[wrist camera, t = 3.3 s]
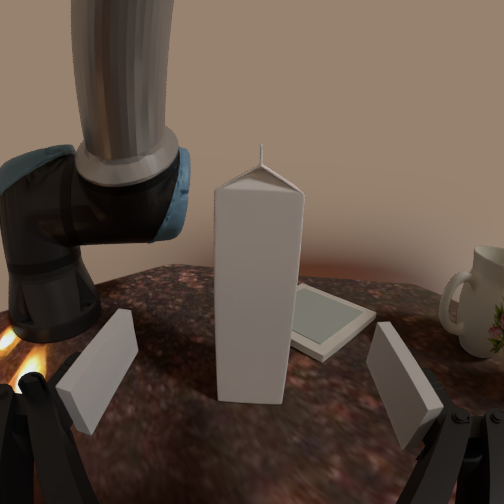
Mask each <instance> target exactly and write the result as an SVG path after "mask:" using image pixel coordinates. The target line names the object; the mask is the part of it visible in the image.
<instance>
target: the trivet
mask: <svg viewBox="0 0 504 504" xmlns="http://www.w3.org/2000/svg"><path fill="white" fill-rule="evenodd" d="M375 317H376V312H374V311H371V310H369V309H366V308H363V307H361V306H358V305H356V304H353V303H351V302H348V301H346V300H343V299H341V298H338V297H336V296H333V295H330V294H328V293H325V292H323V291H320V290H318V289H315V288H313V287H310V286H308V285H305V284H300V285H298V286H297V291H296V300H295V309H294V317H293V326H292V334H291V342H290V346H292V347H294V348H296V349H298V350H299V351H301V352H303V353H305V354H307V355H309V356H310V357H312V358H314V359H316V360H318V361H320V362H324V361H325V360H326V359H327V358H329V357H330V356H331V355H333V354H334V353H335V352H336V351H338V350H339V349H340V348H341V347H343V346H344V345H345V344H346V343H347V342H349V341H350V340H351V339H352V338H353V337H355V336H356V335H357V334H358V333H359V332H360V331H362V330H363V329H364V328H365V327H366V326H367V325H368V324H370V323H371V322H372V321H373V320H374V319H375Z"/></svg>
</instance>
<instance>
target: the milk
mask: <svg viewBox="0 0 504 504" xmlns="http://www.w3.org/2000/svg"><path fill="white" fill-rule="evenodd" d="M262 161H263V143H261V148H260V165H258V166H256V167H254V168H252V169H250V170H249V171H247V172H245V173H243V174H241V175H239V176H237V177H236V178H234V179H232V180H230V181H228V182H226V183H225V184H223V185H222V186H220V187H218V188H217V189H215V191H214V310H215V347H216V373H217V395H218V401H226V402H239V403H256V404H282V398H283V392H284V385H285V378H286V371H287V364H288V357H289V349H290V342H291V334H292V326H293V317H294V309H295V300H296V291H297V281H298V270H299V261H300V250H301V239H302V227H303V212H304V200H305V194H304V193H303V192H302V191H301V190H299V189H298V188H297V187H296V186H295V185H293V184H292V183H291V182H289V181H288V180H286V179H285V178H283V177H282V176H280V175H279V174H277V173H275V172H274V171H272V170H271V169H269V168H268V167H266V166H265V165H263V163H262Z"/></svg>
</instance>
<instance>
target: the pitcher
mask: <svg viewBox="0 0 504 504" xmlns="http://www.w3.org/2000/svg"><path fill="white" fill-rule="evenodd" d="M463 282H464V285H463V288H462V291H461V294H460V299H459V303H458V311H457V324H454V323H452V322H451V320H450V319H449V316H448V308H449V304H450V300H451V298H452V295H453V293H454V292H455V290H456V288H457V287H458V286H459V285H460V284H461V283H463ZM439 320H440V322H441V324H442V326H443V327H444V329H445V330H446V331H447V332H449V333H451V334H454V335H458V337H459V342H460V345H461V346H462V347H463V349H464V350H466V351H467V352H468V353H470V354H472V355H474V356H476V357H480V358H490V357H493V356H494V355H496V354H497V353H499V352H500V351H502V350H503V349H504V249H503V248H497V247H488V246H478V247H475V248H474V261H473V268H472V270H471V272H467V271H461V272H459V273H457V274H455V275H454V276H453V277H452V278H451V279H450V281H449V282H448V284H447V286H446V287H445V290H444V292H443V294H442V298H441V301H440V306H439Z"/></svg>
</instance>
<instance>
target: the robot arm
mask: <svg viewBox="0 0 504 504" xmlns="http://www.w3.org/2000/svg"><path fill="white" fill-rule="evenodd" d="M173 3H174V0H71V34H72V52H73V64H74V75H75V84H76V92H77V100H78V106H79V113H80V119H81V125H82V131H83V136H84V140H83V142H82V143H81V144H80V146H79V147H78V149H77V152H76V151H75V150H74V147H73V146H72V145H57V146H52V147H48V148H45V149H38V150H35V151H31V152H28V153H25V154H23V155H20V156H17V157H15V158H12V159H10V160H9V161H7V162H5V163H4V164H3V165H2V166H1V168H0V229H1V235H2V242H3V247H4V253H5V258H6V263H7V268H8V272H9V317H10V321H11V324H12V327H13V329H14V332H15V333H16V334H17V335H18V336H19V337H20V338H22V339H24V340H27V341H30V342H37V343H49V342H56V341H61V340H64V339H68V338H71V337H73V336H75V335H78V334H80V333H82V332H83V331H85V330H86V329H88V328H89V327H91V326H92V325H93V324H94V323H95V322H96V321H97V319H98V318H99V316H100V314H101V310H102V308H101V302H100V297H99V293H98V291H97V289H96V287H95V285H94V283H93V281H92V279H91V277H90V275H89V273H88V271H87V269H86V267H85V265H84V263H83V261H82V257H81V251H80V245H97V244H124V243H153V242H155V241H164V240H171V239H174V238H175V237H177V236H178V235H179V234H180V232H181V230H182V228H183V225H184V221H185V217H186V211H187V204H188V192H189V185H190V155H189V152H188V150H187V149H185V148H181V147H179V146H178V140H177V138H176V135H175V134H174V133H173V131H172V130H171V129H169V128H168V127H166V126H165V98H166V78H167V63H168V50H169V39H170V29H171V20H172V11H173ZM137 353H138V347H137V342H136V336H135V331H134V325H133V319H132V313H131V310H125V309H118V310H117V311H116V312H115V314H114V315H113V316H112V317H111V318H110V319H109V321H108V322H107V323H106V324H105V325H104V327H103V328H102V329H101V330H100V331H99V333H98V334H97V335H96V336H95V337H94V339H93V340H92V341H91V342H90V343H89V345H88V346H87V347H86V348H85V350H84V351H83V352H75V353H73V354H72V355H70V356H69V357H68V358H67V359H66V360H65V362H64V363H63V364H62V365H61V366H60V368H59V370H57V371H56V373H55V374H54V375H53V376H52V377H51V379H50V380H49V381H48V382H47V383H46V381H45V379H44V376H43V375H42V374H40V373H38V372H29V373H27V374H25V375H23V376H22V377H21V378H20V380H19V382H18V386H19V388H20V390H21V392H22V394H19V393H15V392H14V390H13V389H12V387H11V386H10V385H9V384H0V504H34V496H33V470H34V460H35V465H36V469H37V474H38V478H39V481H40V485H41V489H42V492H43V496H44V499H45V502H46V504H99V502H98V500H97V498H96V496H95V493H94V491H93V489H92V487H91V484H90V482H89V479H88V477H87V474H86V472H85V469H84V466H83V464H82V461H81V458H80V455H79V453H78V450H77V447H76V444H75V440H74V437H73V434H72V431H71V430H70V427H71V425H72V423H74V425H75V427H76V429H77V431H80V432H83V433H86V434H89V435H92V434H93V432H94V430H95V428H96V426H97V424H98V422H99V420H100V419H101V417H102V415H103V413H104V411H105V409H106V408H107V406H108V404H109V402H110V400H111V398H112V397H113V395H114V393H115V391H116V389H117V388H118V386H119V384H120V382H121V381H122V379H123V377H124V375H125V373H126V372H127V370H128V368H129V366H130V365H131V363H132V361H133V360H134V358H135V356H136V354H137ZM366 364H367V366H368V368H369V370H370V373H371V375H372V377H373V380H374V382H375V384H376V387H377V389H378V391H379V394H380V396H381V399H382V401H383V403H384V406H385V408H386V411H387V413H388V416H389V418H390V421H391V423H392V426H393V428H394V431H395V433H396V436H397V439H398V441H399V444H400V446H401V449H402V452H403V451H407V450H412V449H416V448H418V446H419V445H420V443H421V442H422V440H423V442H424V444H425V448H424V449H423V450H422V452H421V453H420V454H419V456H418V457H417V458H416V460H418V461H417V464H416V466H415V468H414V470H413V472H412V474H411V476H410V478H409V480H408V482H407V484H406V486H405V488H404V490H403V491H402V493H401V495H400V497H399V499H398V500H397V502H396V504H448V502H449V499H450V497H451V494H452V491H453V488H454V486H455V483H456V480H457V489H456V499H455V504H504V412H503V411H502V410H500V409H498V408H491V409H489V410H488V411H487V412H486V414H485V415H484V416H471V415H470V413H469V412H468V411H467V410H465V409H463V408H458V407H457V408H456V407H455V405H454V404H453V402H452V400H451V399H450V397H449V396H448V394H447V393H446V391H445V389H444V388H443V386H442V385H441V383H439V380H438V379H437V377H436V375H435V374H434V373H433V372H431V371H430V370H429V369H428V368H424V369H421V368H420V367H419V365H418V364H417V362H416V361H415V359H414V357H413V356H412V354H411V353H410V351H409V350H408V348H407V347H406V345H405V344H404V342H403V341H402V339H401V338H400V336H399V335H398V333H397V332H396V330H395V329H394V327H393V326H392V324H391V323H390V322H377V325H376V329H375V333H374V336H373V340H372V344H371V347H370V351H369V354H368V357H367V361H366Z"/></svg>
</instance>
